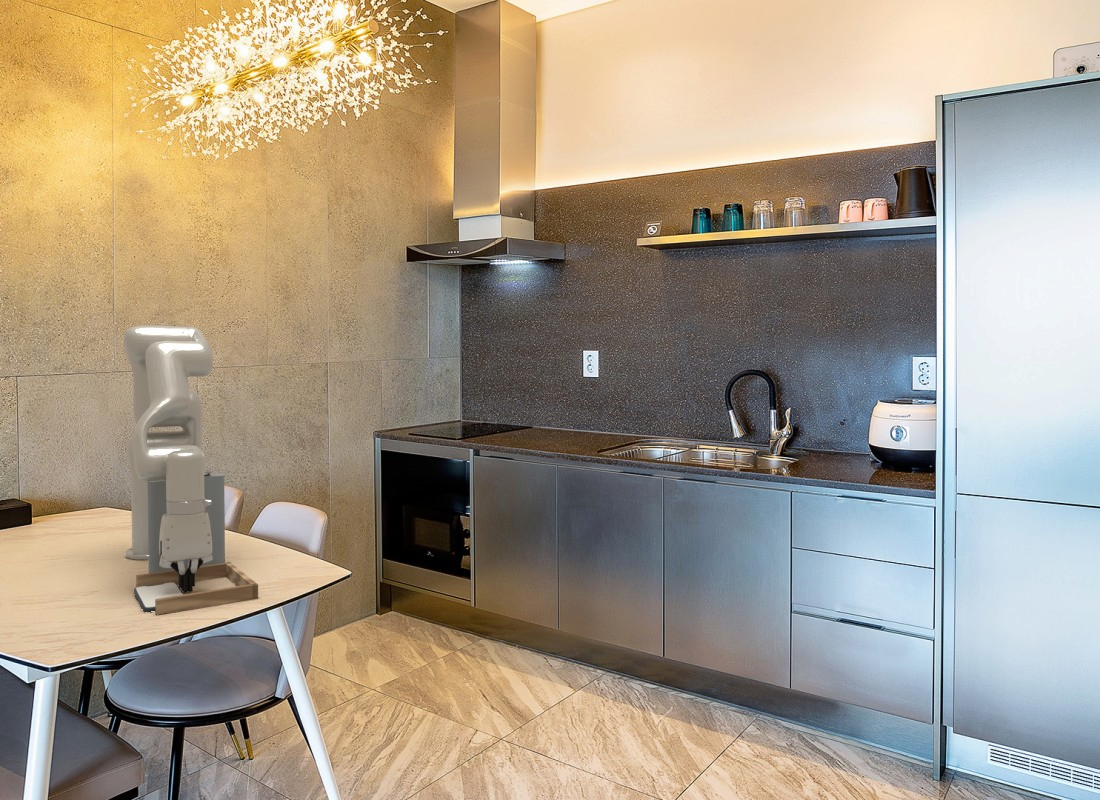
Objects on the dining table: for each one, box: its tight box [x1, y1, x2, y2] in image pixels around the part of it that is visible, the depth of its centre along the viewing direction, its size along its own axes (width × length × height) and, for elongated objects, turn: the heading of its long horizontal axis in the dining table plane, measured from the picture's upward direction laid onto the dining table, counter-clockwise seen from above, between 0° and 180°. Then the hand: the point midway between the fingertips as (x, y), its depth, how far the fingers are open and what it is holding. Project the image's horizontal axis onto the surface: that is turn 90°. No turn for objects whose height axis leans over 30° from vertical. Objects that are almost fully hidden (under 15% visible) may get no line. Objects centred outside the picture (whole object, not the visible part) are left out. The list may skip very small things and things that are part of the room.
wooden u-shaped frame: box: [135, 561, 259, 615], centre depth 181 cm, size 21×20×3 cm
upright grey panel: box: [148, 469, 226, 573], centre depth 198 cm, size 17×5×25 cm, turn 131°
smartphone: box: [133, 582, 185, 613], centre depth 176 cm, size 9×2×16 cm
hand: (186, 590), depth 179 cm, fingers closed
